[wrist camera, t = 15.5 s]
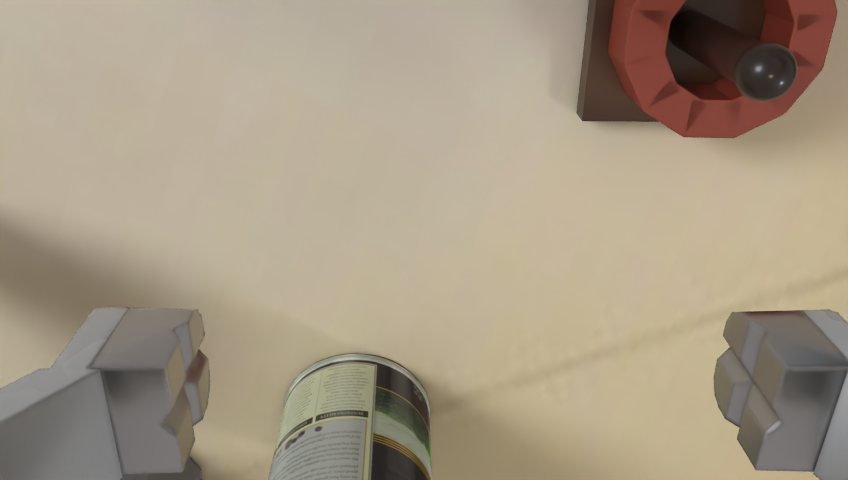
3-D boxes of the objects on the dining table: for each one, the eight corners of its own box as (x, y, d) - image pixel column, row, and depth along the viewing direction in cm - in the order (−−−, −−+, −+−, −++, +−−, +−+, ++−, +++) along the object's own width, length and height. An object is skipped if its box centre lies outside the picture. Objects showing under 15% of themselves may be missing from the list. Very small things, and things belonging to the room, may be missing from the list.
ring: (625, -80, 36) (644, -76, 33) (824, -74, 37) (860, -70, 34) (598, 117, 41) (613, 136, 38) (776, 121, 41) (804, 139, 38)
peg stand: (597, -78, 38) (675, -58, 27) (790, -74, 38) (942, -54, 27) (576, 113, 42) (635, 194, 31) (749, 115, 42) (865, 195, 32)
